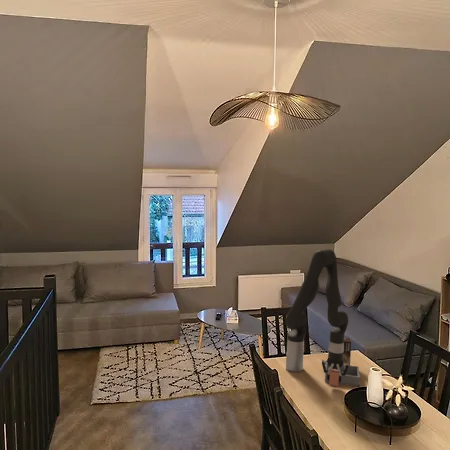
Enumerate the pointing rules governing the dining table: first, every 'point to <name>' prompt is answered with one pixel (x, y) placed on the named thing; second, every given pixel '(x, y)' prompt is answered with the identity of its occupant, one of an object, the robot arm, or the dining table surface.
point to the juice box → (334, 377)
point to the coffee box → (347, 351)
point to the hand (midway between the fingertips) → (333, 381)
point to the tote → (348, 376)
